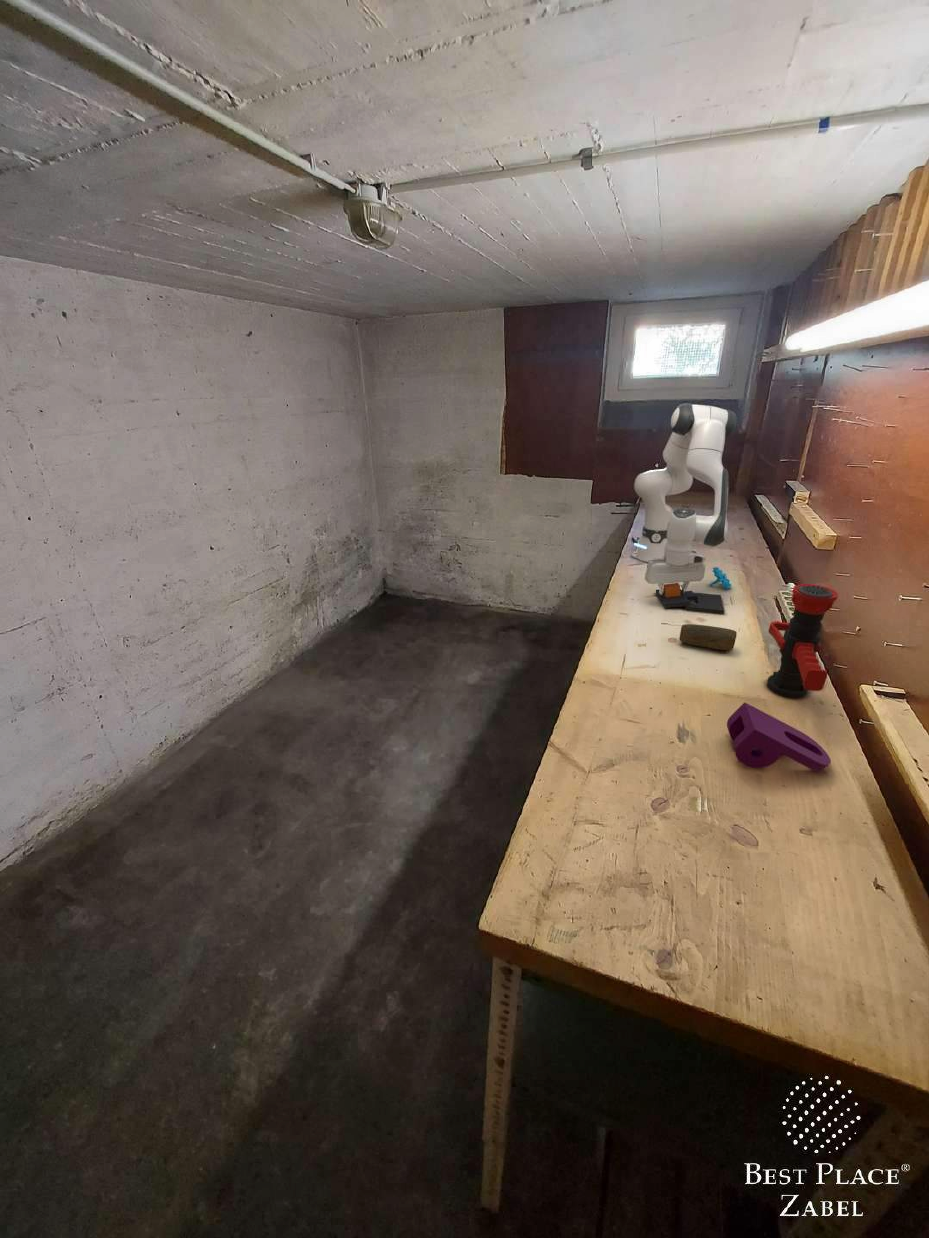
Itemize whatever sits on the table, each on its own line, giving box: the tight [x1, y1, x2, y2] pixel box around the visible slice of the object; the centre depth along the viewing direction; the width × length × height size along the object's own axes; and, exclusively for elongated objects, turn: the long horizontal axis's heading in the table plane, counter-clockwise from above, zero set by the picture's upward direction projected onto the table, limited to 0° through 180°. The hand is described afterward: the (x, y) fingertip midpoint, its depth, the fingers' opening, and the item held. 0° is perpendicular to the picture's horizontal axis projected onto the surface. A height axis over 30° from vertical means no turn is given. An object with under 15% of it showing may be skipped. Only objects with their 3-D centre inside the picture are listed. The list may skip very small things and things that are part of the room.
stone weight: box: [678, 623, 738, 651], centre depth 144 cm, size 15×7×7 cm, turn 65°
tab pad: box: [655, 582, 697, 609], centre depth 173 cm, size 14×12×6 cm
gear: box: [709, 566, 732, 590], centre depth 185 cm, size 11×6×10 cm
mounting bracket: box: [726, 701, 832, 772], centre depth 102 cm, size 9×8×18 cm
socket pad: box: [684, 591, 725, 615], centre depth 172 cm, size 14×12×2 cm
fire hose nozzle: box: [766, 583, 839, 699], centre depth 117 cm, size 10×28×25 cm
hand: (671, 593), depth 174 cm, fingers closed on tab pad, 6 cm apart
